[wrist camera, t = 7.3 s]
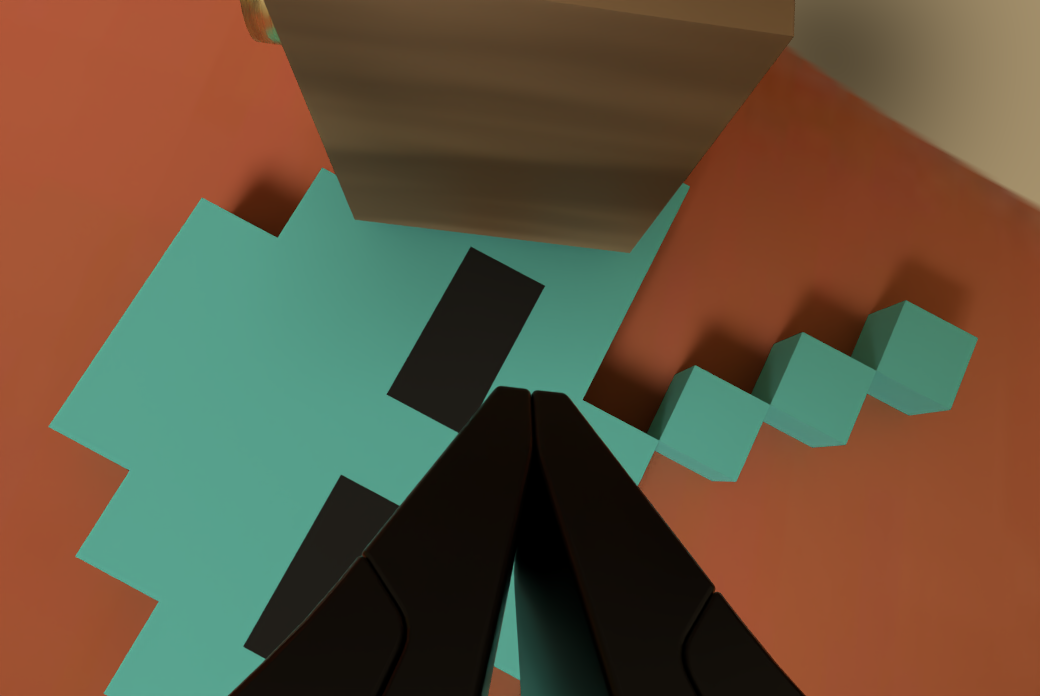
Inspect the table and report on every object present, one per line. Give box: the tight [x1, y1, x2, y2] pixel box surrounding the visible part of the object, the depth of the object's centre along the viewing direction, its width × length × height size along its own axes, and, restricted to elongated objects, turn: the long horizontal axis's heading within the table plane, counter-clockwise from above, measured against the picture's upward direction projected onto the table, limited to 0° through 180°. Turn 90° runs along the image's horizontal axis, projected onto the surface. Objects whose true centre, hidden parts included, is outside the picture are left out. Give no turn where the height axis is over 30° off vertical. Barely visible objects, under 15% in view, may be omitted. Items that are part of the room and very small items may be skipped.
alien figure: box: [49, 168, 978, 696], centre depth 18 cm, size 20×2×20 cm
